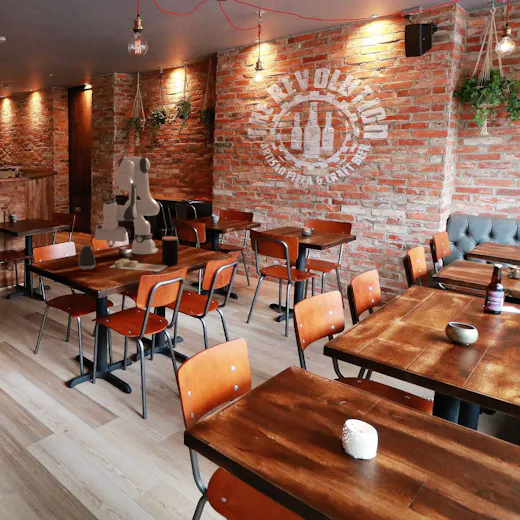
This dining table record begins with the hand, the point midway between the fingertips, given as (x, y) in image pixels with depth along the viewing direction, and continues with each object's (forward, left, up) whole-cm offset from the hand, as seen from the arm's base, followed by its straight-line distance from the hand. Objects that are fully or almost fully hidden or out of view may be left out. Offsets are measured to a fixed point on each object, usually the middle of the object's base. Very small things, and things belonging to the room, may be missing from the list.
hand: (111, 247), depth 299 cm
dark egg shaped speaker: (+13, -10, -13) cm, 21 cm away
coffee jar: (-18, +33, -13) cm, 40 cm away
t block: (0, +11, -11) cm, 16 cm away
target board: (0, +19, -12) cm, 22 cm away
